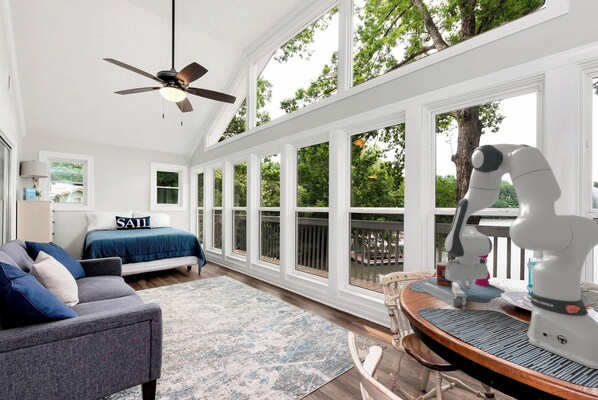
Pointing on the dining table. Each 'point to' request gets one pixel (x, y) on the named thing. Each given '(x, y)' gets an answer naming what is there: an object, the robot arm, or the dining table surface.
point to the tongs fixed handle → (443, 295)
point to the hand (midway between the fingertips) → (466, 288)
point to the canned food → (442, 275)
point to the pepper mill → (483, 281)
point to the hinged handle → (459, 292)
